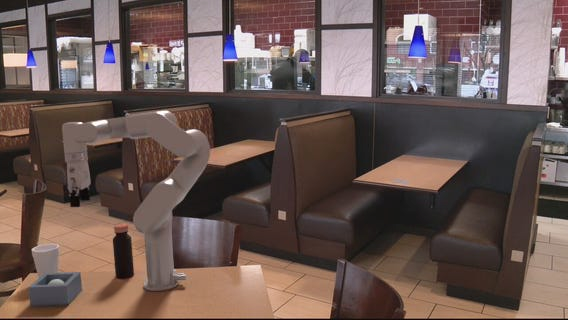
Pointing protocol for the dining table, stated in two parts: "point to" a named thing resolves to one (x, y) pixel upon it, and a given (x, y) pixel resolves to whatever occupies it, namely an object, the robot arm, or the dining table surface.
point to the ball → (55, 282)
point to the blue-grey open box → (55, 289)
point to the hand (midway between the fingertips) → (80, 203)
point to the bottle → (123, 252)
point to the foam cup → (46, 258)
